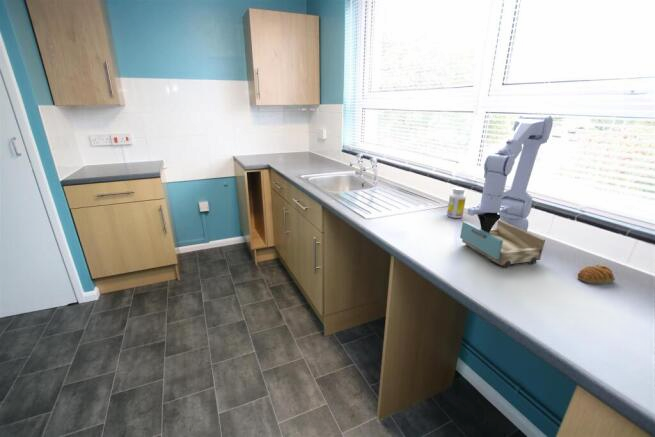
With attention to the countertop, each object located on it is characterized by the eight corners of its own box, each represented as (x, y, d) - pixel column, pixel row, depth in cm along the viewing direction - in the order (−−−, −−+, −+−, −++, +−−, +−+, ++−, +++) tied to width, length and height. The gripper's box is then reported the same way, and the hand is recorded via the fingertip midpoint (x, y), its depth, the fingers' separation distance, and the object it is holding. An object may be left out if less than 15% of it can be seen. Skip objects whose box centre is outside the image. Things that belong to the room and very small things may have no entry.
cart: (496, 241, 116) (500, 220, 113) (538, 263, 99) (545, 239, 97) (461, 244, 112) (465, 223, 109) (499, 268, 96) (505, 244, 93)
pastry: (594, 288, 86) (598, 276, 85) (568, 276, 92) (572, 265, 91) (615, 282, 90) (619, 271, 88) (589, 271, 96) (593, 260, 94)
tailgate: (462, 237, 110) (465, 221, 108) (499, 258, 95) (503, 240, 93) (458, 237, 110) (461, 221, 108) (494, 259, 95) (498, 241, 93)
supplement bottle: (463, 215, 143) (468, 188, 138) (460, 219, 137) (465, 191, 133) (448, 212, 146) (452, 186, 142) (445, 216, 141) (449, 188, 137)
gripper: (502, 189, 102) (493, 228, 107) (464, 191, 99) (457, 231, 103) (519, 195, 96) (510, 236, 100) (479, 197, 92) (471, 240, 97)
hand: (484, 234), depth 101 cm, fingers closed, pressing on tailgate
